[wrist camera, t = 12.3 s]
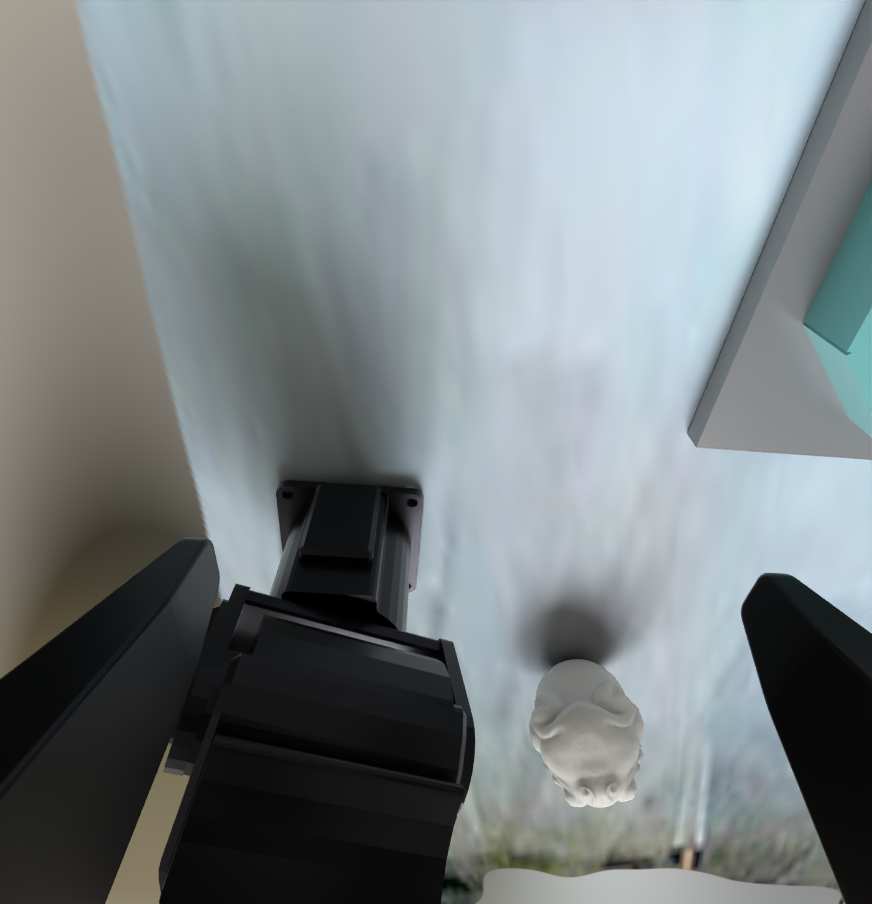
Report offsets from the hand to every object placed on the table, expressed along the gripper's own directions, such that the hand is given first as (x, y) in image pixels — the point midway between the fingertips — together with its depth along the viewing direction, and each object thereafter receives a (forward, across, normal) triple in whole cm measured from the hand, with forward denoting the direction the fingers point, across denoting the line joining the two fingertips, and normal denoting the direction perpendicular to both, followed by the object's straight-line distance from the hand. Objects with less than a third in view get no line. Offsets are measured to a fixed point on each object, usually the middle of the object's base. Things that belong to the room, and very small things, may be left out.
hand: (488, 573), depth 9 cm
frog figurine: (+13, -9, +22) cm, 27 cm away
